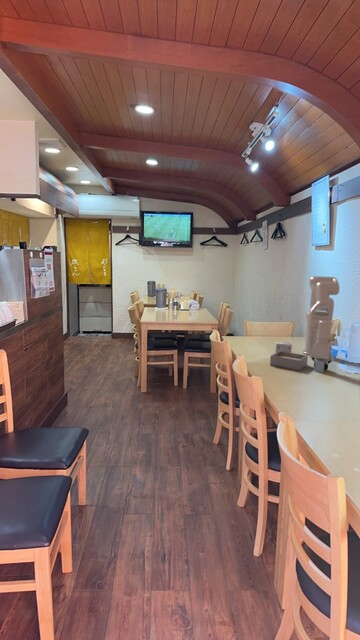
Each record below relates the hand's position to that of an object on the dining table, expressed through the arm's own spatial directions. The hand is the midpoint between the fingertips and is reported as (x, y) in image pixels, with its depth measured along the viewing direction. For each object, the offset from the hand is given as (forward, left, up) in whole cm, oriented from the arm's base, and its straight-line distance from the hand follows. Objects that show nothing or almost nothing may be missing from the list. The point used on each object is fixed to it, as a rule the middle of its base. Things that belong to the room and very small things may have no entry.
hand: (320, 368), depth 231 cm
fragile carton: (0, 0, -1) cm, 1 cm away
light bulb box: (-14, -30, -1) cm, 33 cm away
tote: (+2, -20, -1) cm, 20 cm away
